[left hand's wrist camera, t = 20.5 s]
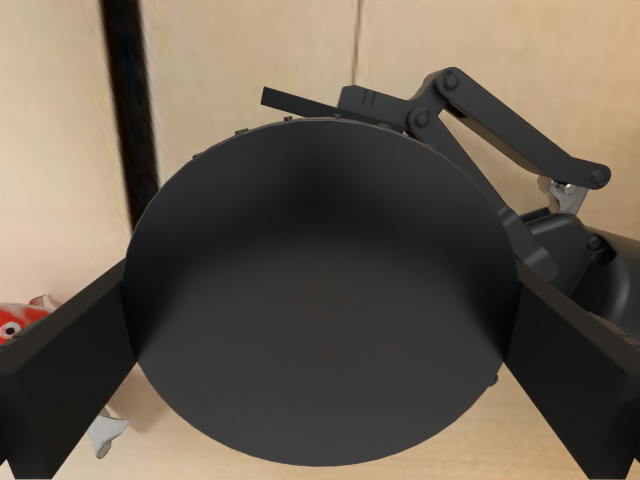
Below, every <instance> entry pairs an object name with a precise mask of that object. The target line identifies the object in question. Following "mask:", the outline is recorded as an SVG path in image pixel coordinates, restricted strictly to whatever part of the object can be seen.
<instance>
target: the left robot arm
mask: <svg viewBox="0 0 640 480" xmlns="http://www.w3.org/2000/svg"><path fill="white" fill-rule="evenodd" d="M125 258H126V257H125ZM125 258H124V259H123V260H121V261H120V262H119V263H117V264H116V265H115V266H113V267H112V268H111V269H109V270H108V271H107V272H105V273H104V274H103V275H102V276H100V277H99V278H98V279H96V280H95V281H94V282H92V283H91V284H90V285H88V286H87V287H86V288H84V289H83V290H82V291H80V292H79V293H78V294H76V295H75V296H74V297H72V298H71V299H70V300H68V301H67V302H66V303H64V304H63V305H62V306H60V307H59V308H58V309H56V310H55V311H54V312H53V313H51V314H49V315H46V316H44V317H42V318H40V319H38V320H36V321H34V322H32V323H30V324H28V325H27V326H26V327H24V328H23V329H22V330H20V331H19V332H17V333H16V334H15V335H13V337H12V339H8V340H7V341H5V342H4V343H2V344H1V345H0V466H1V465H2V463H3V462H4V461H5V460H6V459H7V461H8V463H9V466H10V468H11V470H12V473H13V475H14V478H15V479H52V478H53V476H54V475H55V474H56V472H57V471H58V470H59V468H60V467H61V465H62V464H63V463H64V461H65V460H66V459H67V457H68V456H69V455H70V453H71V452H72V450H73V449H74V448H75V446H76V445H77V444H78V442H79V441H80V439H81V438H82V437H83V435H84V434H85V433H86V431H87V430H88V428H89V427H90V426H91V424H92V423H93V422H94V420H95V419H96V417H97V416H98V415H99V413H100V412H101V411H102V409H103V408H104V406H105V405H106V404H107V402H108V401H109V400H110V398H111V397H112V395H113V394H114V393H115V391H116V390H117V389H118V387H119V386H120V384H121V383H122V382H123V380H124V379H125V378H126V376H127V375H128V373H129V372H130V371H131V369H132V368H133V367H134V365H135V364H136V362H137V360H136V357H135V355H134V352H133V350H132V348H131V344H130V340H129V335H128V331H127V326H126V322H125V317H124V312H123V307H122V301H121V288H122V272H123V267H124V263H125ZM516 261H517V267H518V276H519V285H520V295H519V306H518V311H517V315H516V320H515V324H514V329H513V334H512V338H511V343H510V347H509V350H508V353H507V355H506V357H505V359H504V361H503V362H504V363H505V365H506V366H507V367H508V369H509V370H510V372H511V373H512V374H513V376H514V377H515V378H516V380H517V381H518V383H519V384H520V385H521V387H522V388H523V389H524V391H525V392H526V393H527V395H528V396H529V398H530V399H531V400H532V402H533V403H534V404H535V406H536V407H537V409H538V410H539V411H540V413H541V414H542V415H543V417H544V418H545V420H546V421H547V422H548V424H549V425H550V426H551V428H552V429H553V431H554V432H555V433H556V435H557V436H558V437H559V439H560V440H561V442H562V443H563V444H564V446H565V447H566V448H567V450H568V451H569V453H570V454H571V455H572V457H573V458H574V459H575V461H576V462H577V464H578V465H579V466H580V468H581V469H582V470H583V472H584V473H585V475H586V476H587V477H588V479H614V480H625V479H626V477H627V474H628V472H629V470H630V467H631V465H632V462H633V460H634V458H635V459H636V460H637V461H638V462H639V463H640V343H639V342H638V341H636V340H635V339H634V338H632V337H629V335H628V334H627V333H625V332H624V331H623V330H621V329H620V328H618V327H617V326H616V325H614V324H613V323H612V322H610V321H607V320H605V319H603V318H601V317H599V316H597V315H595V314H593V313H591V312H587V311H585V310H584V309H583V308H581V307H580V306H579V305H577V304H576V303H575V302H573V301H572V300H571V299H569V298H568V297H567V296H565V295H564V294H563V293H561V292H560V291H559V290H557V289H556V288H555V287H553V286H552V285H551V284H550V283H548V282H547V281H546V280H544V279H543V278H542V277H540V276H539V275H538V274H536V273H535V272H534V271H532V270H531V269H530V268H528V267H527V266H526V265H524V264H523V263H522V262H520V261H519V260H518V259H516Z"/></svg>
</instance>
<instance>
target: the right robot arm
mask: <svg viewBox="0 0 640 480" xmlns="http://www.w3.org/2000/svg"><path fill="white" fill-rule="evenodd" d="M261 105H265V106H268V107H272V108H275V109H279V110H282V111H286V112H289V113H292V114H296V115H299V116H303V117H306V118H318V117H331V118H334V115H340V119H349V120H356V121H360V122H364V123H368V124H372V125H376V126H379V123H381V124H385V125H389V126H391V128H390V129H391V130H393V131H396V132H398V133H401V134H403V131H404V132H405V133H406V134H407V135H408V137H410V138H413V139H415V140H418V141H420V142H422V143H425V144H428V145H431V146H434V147H435V148H436V149H435V151H437V152H438V153H440V154H442V155H444V156H445V157H446V158H448V159H449V160H450V161H451V162H452V163H454V164H455V165H456V166H457V167H459V168H460V169H461V170H462V171H464V172H465V173H466V174H467V175H468V176H470V177H471V178H472V180H473V181H474V183H475V184H476V185H477V186H478V187H479V188H480V189H481V190H482V191H483V192H484V194H485V195H486V196H487V198H488V199H489V201H490V202H491V204H492V205H493V207H494V208H495V210H496V211H497V213H498V214H499V216H500V218H501V220H502V222H503V224H504V227H505V229H506V231H507V233H508V235H509V238H510V240H511V243H512V247H513V251H514V254H515V258H516V259H518V260H519V261H520V262H522V263H523V264H524V265H526V266H527V267H528V268H530V269H531V270H532V271H534V272H535V273H536V274H538V275H539V276H540V277H542V278H543V279H544V280H546V281H547V282H548V283H550V284H551V285H552V286H553V287H555V288H556V289H557V290H559V291H560V292H561V293H563V294H564V295H565V296H567V297H568V298H569V299H571V300H572V301H573V302H575V303H576V304H577V305H579V306H580V307H581V308H583V309H584V310H585V311H587V312H591V313H593V314H595V315H597V316H599V317H601V318H603V319H605V320H607V321H610V322H612V323H613V324H614V325H616V326H617V327H618V328H620V329H621V330H623V331H624V332H625V333H627V334H628V335H629V337H632V338H634V339H635V340H636V341H638V342H639V343H640V241H637V240H634V239H630V238H627V237H623V236H620V235H616V234H612V233H609V232H605V231H602V230H598V229H595V228H591V227H588V226H585V225H584V224H583V223H582V222H581V220H580V219H579V218H578V217H577V216H576V215H577V213H578V211H579V209H580V207H581V205H582V203H583V201H584V199H585V197H586V195H587V193H588V191H589V189H592V190H597V189H600V188H603V187H604V186H605V185H606V184H607V183H608V182H609V180H610V177H611V171H610V169H609V167H607V166H605V165H602V164H598V163H594V162H590V161H586V160H582V159H578V158H574V157H571V156H570V155H569V154H567V153H566V152H565V151H563V150H562V149H561V148H560V147H558V146H557V145H556V144H555V143H553V142H552V141H551V140H549V139H548V138H547V137H546V136H544V135H543V134H542V133H540V132H539V131H538V130H537V129H535V128H534V127H533V126H532V125H530V124H529V123H528V122H526V121H525V120H524V119H523V118H521V117H520V116H519V115H518V114H516V113H515V112H514V111H512V110H511V109H510V108H509V107H507V106H506V105H505V104H503V103H502V102H501V101H500V100H498V99H497V98H496V97H495V96H493V95H492V94H491V93H489V92H488V91H487V90H486V89H484V88H483V87H482V86H481V85H479V84H478V83H477V82H475V81H474V80H473V79H472V78H470V77H469V76H468V75H466V74H465V73H464V72H463V71H461V70H460V69H458V68H456V67H449V68H446V69H443V70H440V71H437V72H434V73H431V74H429V75H428V76H427V77H426V78H425V79H424V82H423V85H422V86H421V87H420V89H419V90H418V91H417V93H416V94H415V95H414V96H413V97H412V98H411V99H409V100H403V99H399V98H396V97H393V96H389V95H386V94H383V93H379V92H376V91H373V90H370V89H366V88H363V87H360V86H356V85H353V86H345V87H343V88H342V90H341V93H340V97H339V101H338V104H337V108H335V107H332V106H329V105H325V104H322V103H318V102H315V101H312V100H308V99H305V98H301V97H298V96H295V95H291V94H288V93H284V92H281V91H278V90H274V89H271V88H268V87H264V89H263V94H262V99H261ZM443 109H444V110H445V111H447V112H448V113H450V114H451V115H452V116H454V117H455V118H456V119H458V120H459V121H460V122H462V123H463V124H464V125H466V126H467V127H468V128H470V129H471V130H472V131H474V132H475V133H476V134H478V135H479V136H480V137H482V138H483V139H484V140H486V141H487V142H488V143H490V144H491V145H492V146H494V147H495V148H496V149H498V150H499V151H500V152H502V153H503V154H504V155H506V156H507V157H508V158H510V159H511V160H512V161H514V162H515V163H516V164H518V165H519V166H521V167H522V168H524V169H525V170H527V171H529V172H532V173H534V174H537V175H540V176H539V177H538V179H537V183H538V184H539V188H540V190H541V191H542V192H543V193H545V194H547V196H548V197H549V200H550V203H549V206H548V207H544V208H541V209H538V210H535V211H532V212H529V213H526V214H523V215H520V216H518V215H517V214H516V213H515V212H514V211H513V210H512V209H511V208H510V207H509V206H508V205H507V204H506V203H505V202H504V200H503V199H502V198H501V196H500V195H499V194H498V193H497V191H496V190H495V189H494V188H493V186H492V185H491V184H490V182H489V181H488V180H487V179H486V177H485V176H484V175H483V174H482V172H481V171H480V170H479V168H478V167H477V166H476V165H475V163H474V162H473V161H472V160H471V158H470V157H469V156H468V154H467V153H466V152H465V151H464V149H463V148H462V147H461V145H460V144H459V143H458V142H457V140H456V139H455V138H454V137H453V135H452V134H451V133H450V131H449V130H448V129H447V128H446V126H445V125H444V124H443V123H442V121H441V120H440V119H439V117H438V115H439V113H440V112H441V111H442V110H443ZM497 380H498V375H497V374H496V376H495V377H494V379H493V380H492V382H491V383H490V385H489V386H488V387H490V386H492V385H494V384H495V383H496V382H497Z"/></svg>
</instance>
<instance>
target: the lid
mask: <svg viewBox="0 0 640 480" xmlns="http://www.w3.org/2000/svg"><path fill="white" fill-rule="evenodd" d="M390 128H391V126H389V125H385V124H381V123H379V126H376V125H372V124H368V123H364V122H360V121H356V120H349V119H340V115H334V118H331V117H318V118H299V119H293V120H292V116H289V117H284V121H281V122H275V123H271V124H267V125H264V126H261V127H258V128H255V129H252V130H248V128H247V129H242V130H238V131H236V132H235V134H236V135H235V136H232V137H230V138H228V139H226V140H224V141H222V142H220V143H218V144H216V145H214V146H212V147H210V148H208V149H207V150H206V151H204V152H202V153H199V154H196V155H194V156H193V157H192V158H193V159H192V160H191V161H189V162H188V163H186V164H185V165H184V166H183V167H182V168H181V169H180V170H179V171H178V172H177V173H175V174H174V175H173V176H172V177H171V178H170V179H169V180H168V181H167V182H166V183H165V184H164V185H163V187H161V188H160V190H159V192H158V193H157V194H156V195H155V197H154V198H153V199H152V200H151V202H150V203H149V204H148V206H147V208H146V210H145V211H144V213H143V215H142V217H141V218H140V220H139V222H138V224H137V225H136V228H135V230H134V233H133V236H132V238H131V241H130V243H129V246H128V249H127V253H126V258H125V263H124V267H123V272H122V288H121V301H122V307H123V312H124V317H125V322H126V326H127V331H128V335H129V340H130V344H131V348H132V350H133V352H134V355H135V357H136V360H137V362H138V364H139V365H140V367H141V369H142V371H143V372H144V374H145V376H146V378H147V379H148V381H149V382H150V383H151V385H152V386H153V387H154V389H155V390H156V391H157V393H158V394H159V395H160V397H161V398H162V399H163V400H164V401H165V402H166V403H167V404H168V405H169V406H170V407H171V408H172V409H173V410H174V411H175V412H176V413H177V414H178V415H179V416H181V417H182V418H183V419H184V420H185V421H187V422H188V423H189V424H190V425H192V426H193V427H194V428H196V429H197V430H199V431H201V432H202V433H204V434H205V435H207V436H208V437H210V438H212V439H213V440H215V441H217V442H219V443H221V444H223V445H225V446H227V447H229V448H232V449H234V450H237V451H239V452H242V453H245V454H247V455H250V456H253V457H257V458H261V459H264V460H268V461H272V462H278V463H283V464H289V465H298V466H311V467H324V466H342V465H351V464H359V463H363V462H368V461H373V460H378V459H381V458H384V457H387V456H390V455H394V454H397V453H399V452H402V451H404V450H406V449H409V448H411V447H413V446H416V445H418V444H420V443H422V442H424V441H425V440H427V439H429V438H431V437H433V436H434V435H436V434H438V433H439V432H441V431H442V430H443V429H445V428H446V427H448V426H449V425H450V424H452V423H453V422H455V421H456V420H457V419H458V418H459V417H460V416H461V415H463V414H464V413H465V412H466V411H467V410H468V409H469V408H470V407H471V406H472V405H473V404H474V403H475V402H476V401H477V400H478V398H479V397H480V396H481V395H482V394H483V393H484V392H485V390H486V389H487V388H488V386H489V385H490V383H491V382H492V380H493V379H494V377H495V376H496V374H497V373H498V371H499V369H500V367H501V365H502V363H503V361H504V359H505V357H506V355H507V353H508V350H509V347H510V343H511V338H512V334H513V329H514V324H515V320H516V315H517V311H518V306H519V295H520V285H519V276H518V267H517V261H516V258H515V254H514V251H513V247H512V243H511V240H510V238H509V235H508V233H507V231H506V229H505V227H504V224H503V222H502V220H501V218H500V216H499V214H498V213H497V211H496V210H495V208H494V207H493V205H492V204H491V202H490V201H489V199H488V198H487V196H486V195H485V194H484V192H483V191H482V190H481V189H480V188H479V187H478V186H477V185H476V184H475V183H474V181H473V180H472V178H471V177H470V176H468V175H467V174H466V173H465V172H464V171H462V170H461V169H460V168H459V167H457V166H456V165H455V164H454V163H452V162H451V161H450V160H449V159H448V158H446V157H445V156H444V155H442V154H440V153H438V152H437V151H435V149H436V148H435V147H434V146H431V145H428V144H425V143H422V142H420V141H418V140H415V139H413V138H410V137H408V136H406V135H403V134H401V133H398V132H396V131H393V130H391V129H390Z"/></svg>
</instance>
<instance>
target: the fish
mask: <svg viewBox="0 0 640 480" xmlns="http://www.w3.org/2000/svg"><path fill="white" fill-rule="evenodd" d="M45 295H46V294H45ZM43 296H44V295H43ZM54 311H55V310H52V309H49V308H45V307H44V303H43V297H42V296H40V297H37V298H34V299H32V300H31V301H30V302H29V305H27V304H17V303H0V345H1V344H2V343H4V342H5V341H7V340H8V339H12V337H13V335H15V334H16V333H17V332H19V331H20V330H22V329H23V328H24V327H26V326H27V325H28V324H30V323H32V322H34V321H36V320H38V319H40V318H42V317H44V316H46V315H49V314H51V313H53V312H54ZM131 421H132V420H121V419H116V418H111V417H110V414H109V412H108V411H107V410H106V408H105V407H104V408H103V409H102V411H101V412H100V413H99V415H98V416H97V417H96V419H95V420H94V422H93V423H92V424H91V426H90V427H89V428H88V430H87V431H86V432H87V433H88V434H89V436H90V438H91V441H92V443H93V445H94V448H95V453H96V457H97V458H99V459H101V458H103V457H104V456H105V455H106V454H107V453H108V451H109V449H110V447H111V441H112V440H113V439H114V438H116V437H117V436H119V435H120V434H121V433H122V432H123V431H124V430H125V428H126V427H127V426H128V425H129V423H130V422H131Z"/></svg>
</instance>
